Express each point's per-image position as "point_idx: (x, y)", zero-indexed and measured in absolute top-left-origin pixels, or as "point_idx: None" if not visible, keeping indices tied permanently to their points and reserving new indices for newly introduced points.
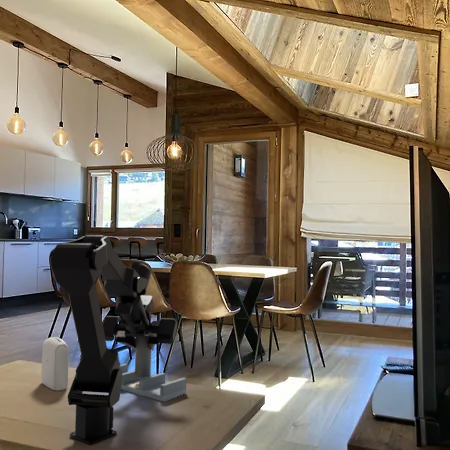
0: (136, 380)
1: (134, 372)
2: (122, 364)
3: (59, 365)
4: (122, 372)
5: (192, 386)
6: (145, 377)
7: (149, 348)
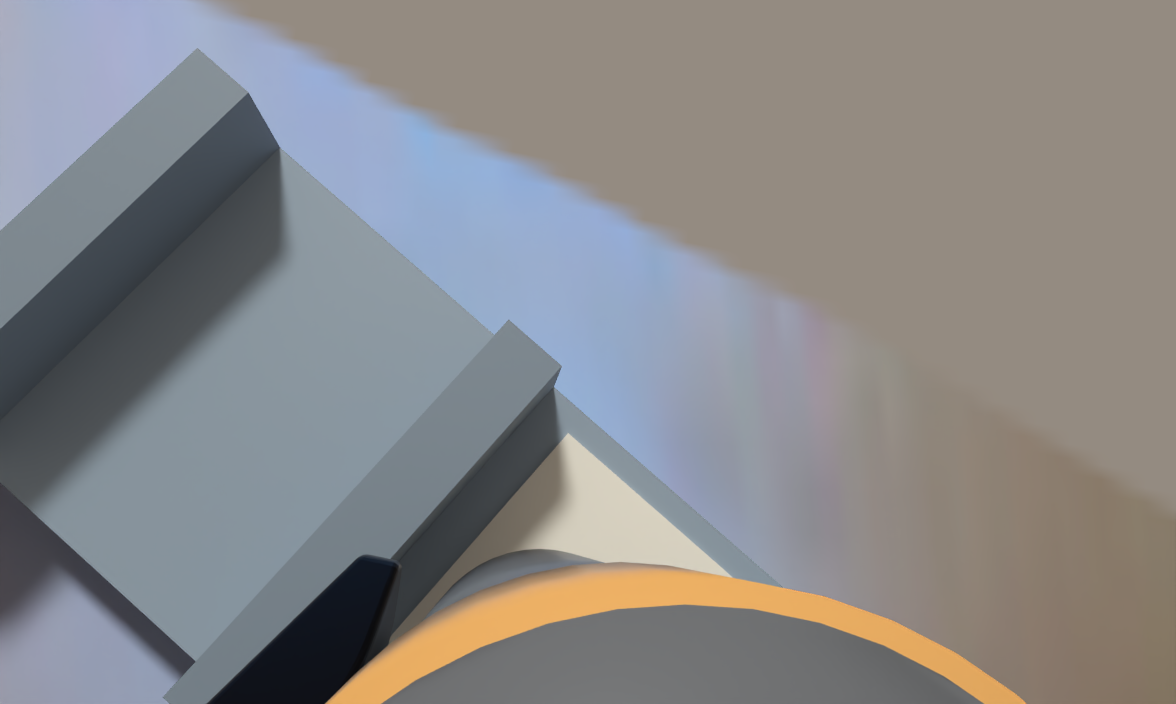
0: (437, 519)
1: (396, 554)
2: (163, 88)
3: None
4: (204, 198)
5: (1139, 553)
6: (551, 390)
7: None
